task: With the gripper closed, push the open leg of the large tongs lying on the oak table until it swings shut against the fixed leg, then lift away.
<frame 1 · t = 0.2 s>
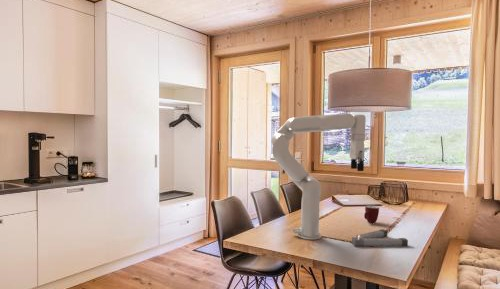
hand: (357, 169, 186), 36 cm above the table, tool pointing down, fingers open, 9 cm apart
tongs leg: (372, 235, 183), point 2 cm above the table, hinge at 30.0°
mug: (370, 223, 214), on the table
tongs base: (359, 243, 175), on the table
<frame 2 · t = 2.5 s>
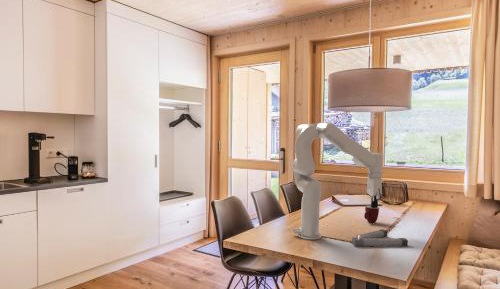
hand: (374, 207, 193), 14 cm above the table, tool pointing down, fingers closed
nothing on the table moved.
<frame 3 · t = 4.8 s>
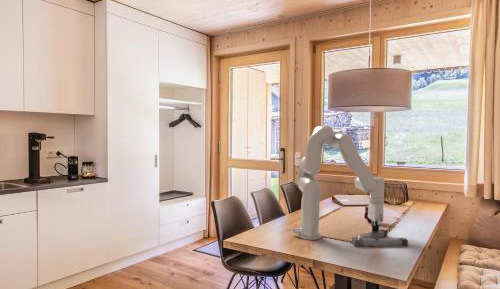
hand: (375, 232, 190), 1 cm above the table, tool pointing down, fingers closed
tongs leg: (372, 235, 183), point 2 cm above the table, hinge at 30.0°, touching gripper
everything else where it was.
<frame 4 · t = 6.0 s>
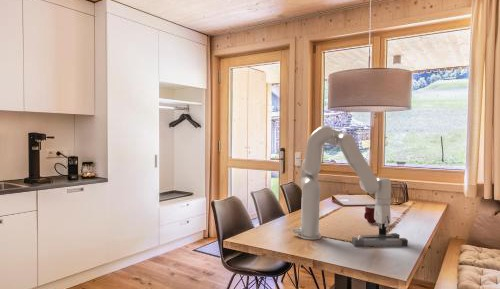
hand: (382, 235, 184), 2 cm above the table, tool pointing down, fingers closed
tongs leg: (379, 238, 180), point 2 cm above the table, hinge at 9.5°, touching gripper
everything else where it was.
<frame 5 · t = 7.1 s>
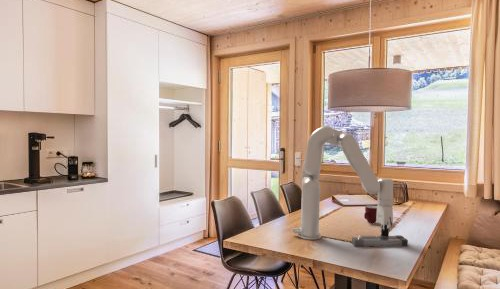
hand: (384, 236, 181), 2 cm above the table, tool pointing down, fingers closed
tongs leg: (381, 239, 178), point 2 cm above the table, hinge at 0.0°, touching gripper
everything else where it was.
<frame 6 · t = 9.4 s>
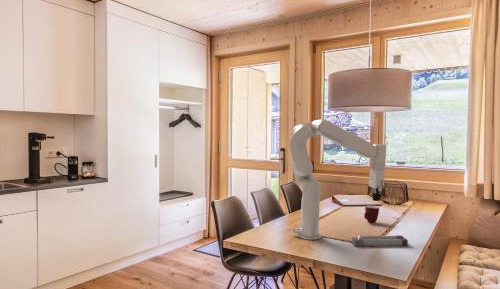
hand: (375, 200, 188), 20 cm above the table, tool pointing down, fingers closed
tongs leg: (381, 239, 178), point 2 cm above the table, hinge at -0.1°
everything else where it was.
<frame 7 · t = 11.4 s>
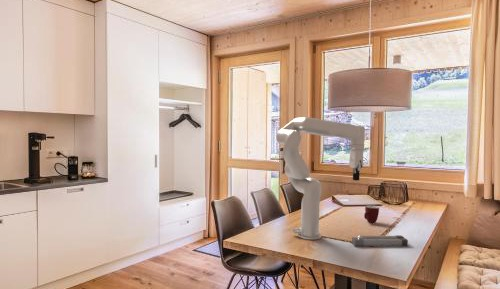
hand: (355, 180, 196), 29 cm above the table, tool pointing down, fingers closed
nothing on the table moved.
at the end: tongs leg at +0° (first picture: +30°); mug moved 0.2 cm from its start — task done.
